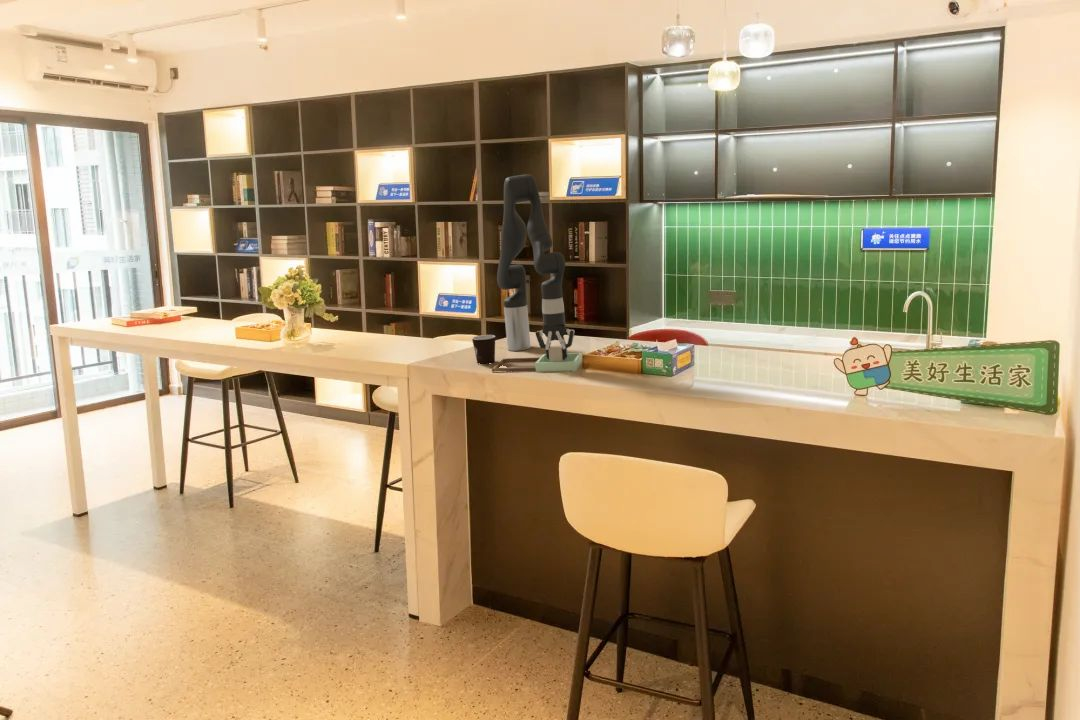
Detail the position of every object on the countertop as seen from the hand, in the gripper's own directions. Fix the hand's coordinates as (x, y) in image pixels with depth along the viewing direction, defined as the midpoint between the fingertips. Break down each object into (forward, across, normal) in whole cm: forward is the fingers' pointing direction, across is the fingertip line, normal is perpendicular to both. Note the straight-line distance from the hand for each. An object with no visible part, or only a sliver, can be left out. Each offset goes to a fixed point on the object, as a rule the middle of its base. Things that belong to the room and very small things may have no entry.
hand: (557, 359), depth 288 cm
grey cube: (+3, 0, -6) cm, 7 cm away
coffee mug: (+4, +30, -14) cm, 33 cm away
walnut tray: (+4, +15, -5) cm, 16 cm away
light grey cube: (0, 0, 0) cm, 0 cm away
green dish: (+4, 0, -3) cm, 5 cm away
